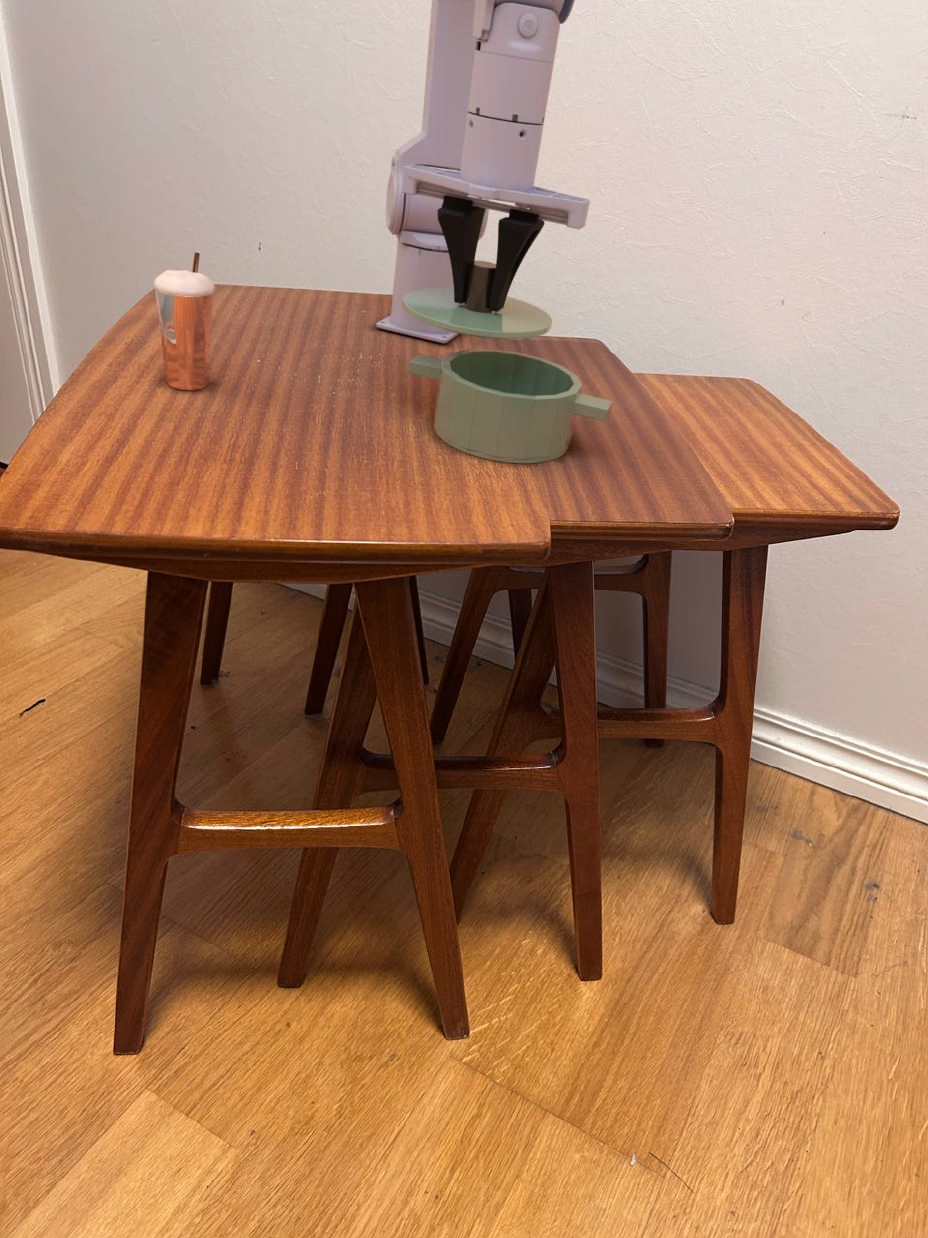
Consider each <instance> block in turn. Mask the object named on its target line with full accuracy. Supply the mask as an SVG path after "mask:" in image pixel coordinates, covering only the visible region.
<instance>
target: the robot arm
mask: <svg viewBox="0 0 928 1238" xmlns="http://www.w3.org/2000/svg"><path fill="white" fill-rule="evenodd" d="M575 2H576V0H431V9H430V21H429V33H428V44H427V45H428V46H427V59H426V70H425V71H426V72H425V84H424V97H423V109H422V120H421V121H422V122H421V131H420V133H418V134H417V135H415V136H414V137H412V138H411V139H410V140H408V141H406V142H405V143H403V144H402V145H401V146H400V147H398V148H397V149H396V150H395V152H394V155H393V156H392V157H391V161H390V162H391V163H390V172H389V173H390V174H389V177H388V182H387V190H386V201H385V224H386V228H387V229H388V230H389V232H390V234H391V235H393V236H394V235H395V236H396V238H397V244H396V257H395V268H394V276H393V277H394V278H393V288H392V297H391V309H390V315H388V316H387V317H384V318H383V319H381V320H379V321H377V322H376V325H375V326H376V328H378V329H381V330H385V331H389V332H393V333H398V334H402V335H407V336H411V337H415V338H419V339H423V340H427V341H431V342H435V343H440V344H448V342H450V341H451V340H453V339H454V338H456V337H457V336H458V335H460V334H459V333H455V332H451V331H448V330H445V329H442V328H439V327H436V326H433V325H430V324H428V323H425V322H423V321H420V320H418V319H416V318H414V317H413V316H411V315H410V314H408V313H407V312H406V311H405V310H404V308H403V306H402V302H403V297H404V296H405V294H407V293H409V292H411V291H414V290H418V289H425V288H454V302H456V303H460V304H463V303H464V299H465V292H466V285H467V277H468V270H469V263H470V262H471V261H476V253H477V250H478V249H477V248H478V244H479V241H480V240H481V239H482V238H483V237H484V235H485V232H486V229H487V225H488V220H489V215H490V214H489V213H490V210H491V211H496V212H501V213H505V214H508V216H505V217H503V218H500V219H498V225H497V249H496V260H495V261H496V262H495V264H496V270H495V275H494V280H493V285H492V290H491V295H490V303H489V310H490V311H495V312H498V311H499V310H501V309H502V308H503V307H504V304H505V301H506V297H507V296H508V294H509V292H510V288H511V286H512V283H513V281H514V279H515V277H516V274H517V272H518V270H519V268H520V266H521V264H522V262H523V261H524V259H525V257H526V255H527V253H528V252H529V250H530V248H531V246H532V245H533V243H534V242H535V240H536V239H537V238H538V236H539V234H540V233H541V231H542V229H543V228H544V226H545V223H546V222H549V223H555V224H559V225H564V226H566V227H567V228H569V229H575V230H581V229H583V228H584V227H585V226H586V223H587V219H588V213H589V207H590V203H591V200H590V199H588V198H583V197H578V196H574V195H570V194H566V193H562V192H559V191H555V190H550V189H547V188H543V187H539V186H535V180H536V173H537V168H538V162H539V155H540V149H541V143H542V137H543V131H544V125H545V119H546V114H547V109H548V108H547V106H548V102H549V95H550V90H551V84H552V83H551V82H552V76H553V71H554V65H555V59H556V52H557V47H558V41H559V34H560V28H561V25H562V24H564V23H565V22H566V21H567V20H568V19H569V17H570V14H571V13H572V10H573V8H574V4H575ZM496 201H499V202H496ZM501 202H505V203H501ZM506 203H513V204H514V205H511V204H506Z"/></svg>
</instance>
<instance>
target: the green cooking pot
mask: <svg viewBox="0 0 928 1238" xmlns="http://www.w3.org/2000/svg"><path fill="white" fill-rule="evenodd" d="M407 373H408V374H412V375H415V376H419V377H424V378H429V379H432V380H436V381H438V383H437V390H436V391H437V392H436V398H435V409H434V415H433V421H434V423H433V429H434V432H435V434H436V435H437V436H438V437H439V439H440V440H442V441H443V442H444V443H446V444H447V445H449V446H450V447H452V448H454V449H456V450H457V451H461V452H463V453H465V454H468V455H470V456H474V457H477V458H481V459H484V460H490V461H495V462H502V463H507V464H539V463H540V464H541V463H545V462H546V463H547V462H550V461H554V460H557V459H559V458H560V457H562V456H563V455H565V453H566V452H567V451H568V448H569V445H570V443H571V441H572V440H571V439H572V435H573V430H574V426H575V421H576V416H582V417H585V418H589V419H593V420H598V421H602V422H606V420H607V418H608V417H609V415H610V413H611V411H612V407H613V400H611V399H605V398H602V397H597V396H593V395H589V394H585V393H582V389H583V384H582V382H581V380H580V378H579V376H578V375H576V374H575V373H573V372H572V371H571V370H569V369H568V368H566V367H565V366H563V365H561V364H558V363H555V362H552V361H550V360H548V359H545V358H542V357H538V356H533V355H530V354H527V353H522V352H518V351H508V350H501V349H490V348H487V349H483V348H481V349H465V350H459V351H455V352H451V353H449V354H447V355H446V356H445V357H444V358H442V359H441V358H437V357H434V356H429V355H426V354H425V355H424V354H417V355H415V357H413V358H412V359H411V360H409V362H408V372H407Z"/></svg>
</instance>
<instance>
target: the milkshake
mask: <svg viewBox="0 0 928 1238" xmlns="http://www.w3.org/2000/svg"><path fill="white" fill-rule="evenodd" d="M200 255H201V252H199V251H194V252H193V260H192V270H191V271H190V270H186V269H183V270H174V269H166V270H165V271H163V272H162V273H160V274H159V275H158V276H157V277H156V278H155V279H154V281H153V287H154V293H155V299H156V306H157V312H158V313H157V314H158V321H159V330H160V340H161V347H162V357H163V364H164V365H163V366H164V375H165V381H166V384H168V386H169V387H170V388H172V389H173V388H174V389H176V390H180V391H196V390H203V389H204V388H205V387H206V386H207V385H208V381H209V366H210V348H211V333H212V320H213V308H214V296H215V288H216V286H215V284H214V282H213V280H211V278H209V276H207V275H205V274H203V273H200V272H199V266H200V265H199V264H200V257H201V256H200Z"/></svg>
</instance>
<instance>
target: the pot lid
mask: <svg viewBox="0 0 928 1238" xmlns="http://www.w3.org/2000/svg"><path fill="white" fill-rule="evenodd" d="M495 270H496V263H493V262H490V261H485V260H475V261H471V262H470V263H469V270H468V277H467V285H466V292H465V299H464V303H463V304H460V303H456V302H454V288H425V289H418V290H414V291H411V292H409V293H407V294H405V296H404V297H403V302H402V306H403V308H404V310H405V311H406V312H407V313H408V314H410V315H411V316H413V317H414V318H416V319H418V320H420V321H423V322H425V323H428V324H430V325H433V326H436V327H439V328H442V329H445V330H448V331H451V332H455V333H459V334H458V335H463V336H469V337H475V338H483V339H494V340H496V339H497V340H498V339H499V340H500V339H501V340H502V339H505V340H506V339H527V338H528V339H529V338H536V337H539V336H542V335H545V334H547V333H548V332H550V330H551V329H552V325H553V318H552V317H551V315H550V314H548V312H546V310H544V309H542V308H540V307H539V306H536V305H534V304H531V303H529V302H526V301H524V300H521V299H517V298H516V297H515V298H514V297H511V296H508V295H507V297H506V301H505V304H504V307H503V308H502V309H501V310H499V311H498V312H495V311H490V310H489V303H490V295H491V290H492V285H493V280H494V275H495Z"/></svg>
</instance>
